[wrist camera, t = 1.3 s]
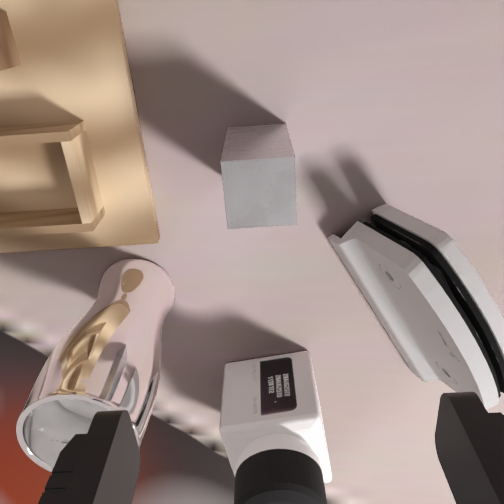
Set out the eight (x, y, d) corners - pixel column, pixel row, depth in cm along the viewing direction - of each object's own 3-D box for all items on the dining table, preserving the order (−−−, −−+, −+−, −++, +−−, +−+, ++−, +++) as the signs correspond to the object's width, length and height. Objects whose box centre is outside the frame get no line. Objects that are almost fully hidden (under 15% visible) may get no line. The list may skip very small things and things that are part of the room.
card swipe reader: (324, 234, 36) (399, 276, 27) (372, 197, 36) (462, 226, 27) (413, 374, 43) (497, 446, 33) (453, 342, 43) (547, 405, 34)
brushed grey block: (227, 127, 32) (220, 161, 25) (285, 123, 32) (294, 156, 25) (233, 182, 34) (227, 229, 27) (288, 178, 34) (296, 224, 27)
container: (223, 361, 42) (212, 496, 31) (309, 348, 41) (330, 480, 30) (241, 422, 46) (238, 563, 34) (321, 410, 45) (344, 551, 33)
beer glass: (198, 288, 38) (169, 438, 25) (146, 338, 41) (95, 499, 28) (128, 236, 36) (57, 370, 23) (78, 291, 39) (-13, 442, 25)
